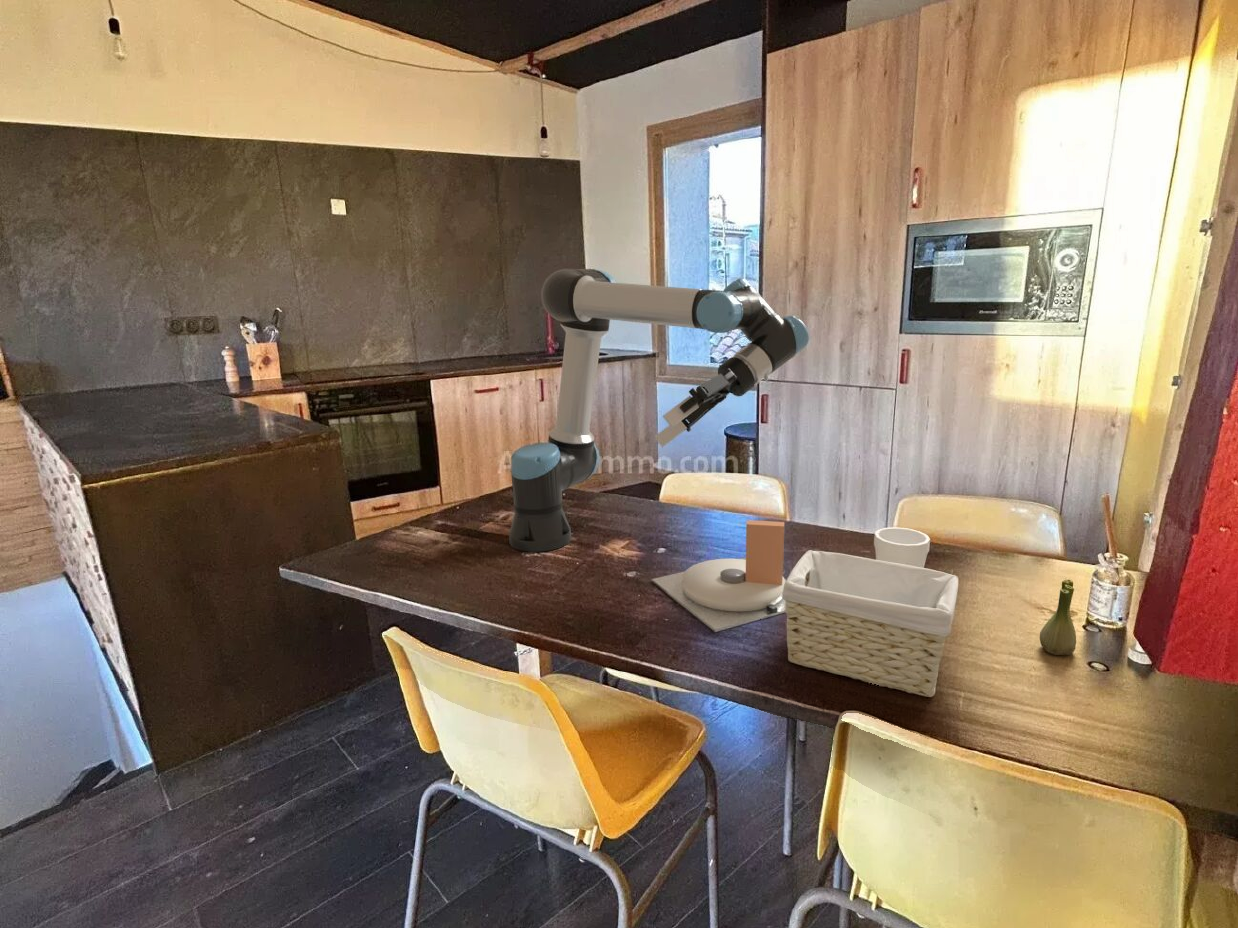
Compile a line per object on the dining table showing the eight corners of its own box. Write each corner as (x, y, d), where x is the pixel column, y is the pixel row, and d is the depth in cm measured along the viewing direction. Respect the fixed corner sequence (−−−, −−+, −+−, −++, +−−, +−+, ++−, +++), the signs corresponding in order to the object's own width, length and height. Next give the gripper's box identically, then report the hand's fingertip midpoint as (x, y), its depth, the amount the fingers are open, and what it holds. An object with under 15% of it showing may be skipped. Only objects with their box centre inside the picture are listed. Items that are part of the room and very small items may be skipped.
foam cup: (924, 593, 127) (930, 530, 124) (923, 615, 119) (930, 548, 116) (872, 586, 131) (876, 525, 128) (868, 606, 123) (872, 541, 120)
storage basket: (951, 654, 106) (960, 570, 103) (943, 709, 93) (954, 614, 89) (803, 623, 118) (806, 546, 114) (777, 667, 104) (779, 582, 101)
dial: (674, 605, 124) (673, 536, 120) (691, 564, 143) (690, 502, 139) (783, 615, 119) (785, 543, 115) (785, 571, 137) (788, 507, 134)
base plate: (651, 581, 137) (651, 575, 136) (747, 559, 146) (747, 553, 146) (715, 632, 115) (715, 625, 115) (821, 602, 125) (822, 595, 125)
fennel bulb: (1058, 662, 103) (1069, 592, 100) (1028, 647, 107) (1038, 580, 104) (1082, 653, 105) (1094, 585, 102) (1052, 639, 109) (1062, 573, 106)
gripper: (773, 360, 120) (685, 427, 115) (740, 405, 144) (666, 462, 139) (747, 330, 121) (658, 395, 116) (718, 380, 145) (644, 435, 141)
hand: (662, 432), depth 128 cm, fingers open, 13 cm apart
